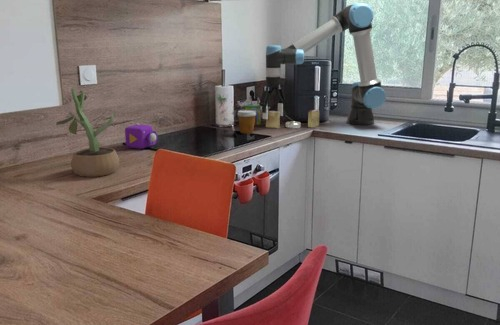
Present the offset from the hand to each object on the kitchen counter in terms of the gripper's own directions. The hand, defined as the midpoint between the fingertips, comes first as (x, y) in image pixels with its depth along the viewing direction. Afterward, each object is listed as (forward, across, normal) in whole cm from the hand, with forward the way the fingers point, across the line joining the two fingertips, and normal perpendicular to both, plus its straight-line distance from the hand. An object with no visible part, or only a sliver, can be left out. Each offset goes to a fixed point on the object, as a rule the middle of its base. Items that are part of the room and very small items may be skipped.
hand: (272, 117), depth 249 cm
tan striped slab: (+5, 0, 0) cm, 5 cm away
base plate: (+7, -8, +8) cm, 13 cm away
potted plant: (+7, +105, -7) cm, 105 cm away
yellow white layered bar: (+5, -16, +16) cm, 23 cm away
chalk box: (+7, -4, -17) cm, 18 cm away
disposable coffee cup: (+7, +19, -2) cm, 20 cm away
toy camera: (+7, +68, -22) cm, 72 cm away
